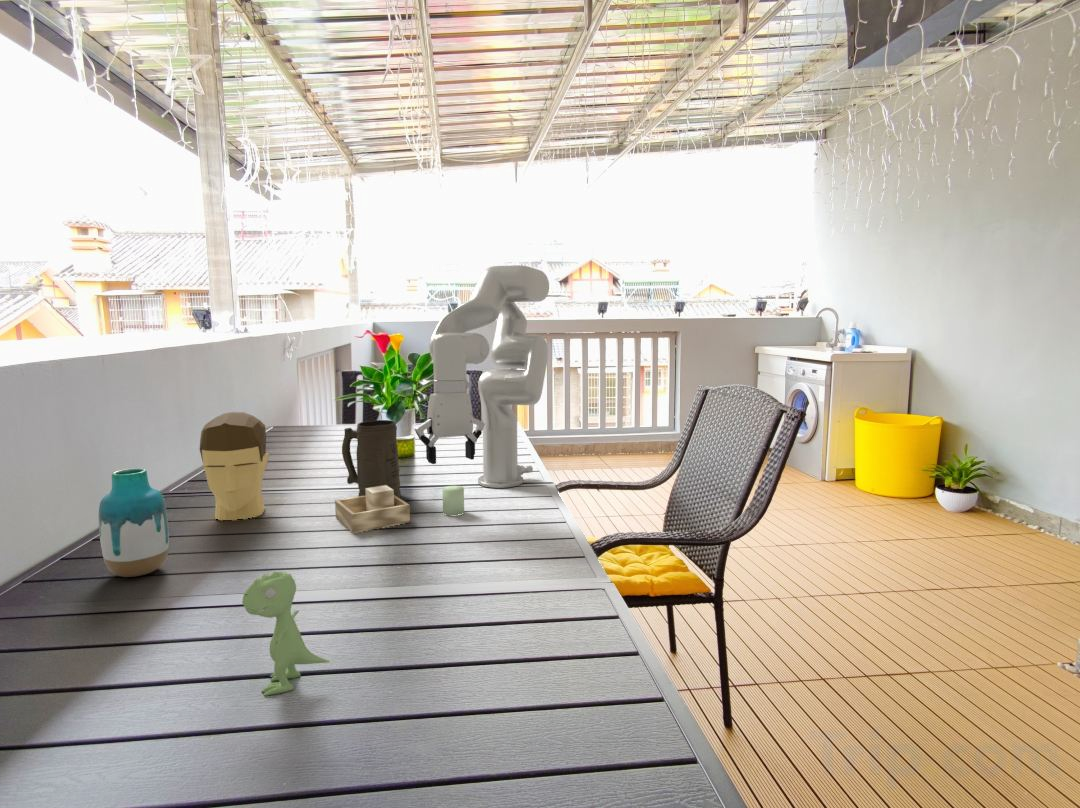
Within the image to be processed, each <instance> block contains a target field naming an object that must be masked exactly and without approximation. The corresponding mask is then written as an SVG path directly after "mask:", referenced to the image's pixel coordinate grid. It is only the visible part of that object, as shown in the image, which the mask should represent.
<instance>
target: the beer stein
mask: <svg viewBox="0 0 1080 808" xmlns="http://www.w3.org/2000/svg"><path fill="white" fill-rule="evenodd" d="M396 423H397V422H396V421H394V420H390V419H381V420H380V419H377V420H367V421H362V422H359V423H358V424H357V426H356V430H354V429H353V428H352V427H347V428H344V437H343V441H342V447H341V454H342V455H341V456H342V458H343V462H344V465H345V466H346V469H347V471H348V472H347V473H348V476H347V478H346V483H347V484H348V485H351V484H354V483H355V484H357V487H358V489H359V490H358V495H357V497H359V496H366V491H365V488H371V487H377V486H384V485H387V486H388V487H390V488H391V489H393V490H394V495H395V496H397V497H398V498H401V495H402V492H401V489H400V486H401V480H400V465H399V450H398V448H399V447H398V443H397V433H398V432H397V431H398V427H397V424H396ZM354 439H355V440H357V441H356V442H357V446H356V468H355V466H354V461H353V458H352V455H351V454H352V453H351V442H352V440H354Z"/></svg>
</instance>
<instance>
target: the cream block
mask: <svg viewBox="0 0 1080 808" xmlns="http://www.w3.org/2000/svg"><path fill="white" fill-rule="evenodd" d="M365 491H366V511H371V510H376V509H382V508H388V507H394V490H393V489H391V488H390V487H388V486H387V485H384V486H377V487H371V488H365Z"/></svg>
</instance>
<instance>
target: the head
mask: <svg viewBox="0 0 1080 808" xmlns="http://www.w3.org/2000/svg"><path fill="white" fill-rule="evenodd" d="M199 439H200V440H199V452H200V453H199V454H200V456H201V461H202V464H203V465H202V466H203V469H204V473H205V477H206V481H207V486H208V489H210V491H211V493H212V494H213V495H214V498H215V511H214V513H215V515H214V519H215V520H216V519H218V520H217V521H223V520H232V521H238V520H237V519H243V520H249V519H248V518H250V519H253V518H256V517H260V515H261V516H262V514H263V513H264V512H265V503H264V499H263V496H262V492H263V480H264V473H265V471H266V469H267V466H268V463H269V454H270V453H269V452H266V451H267V450H266V449H267V447H266V446H267V432H266V424H264V423H263V421H262V420H260V419H259V418H257V417H256V416H254V415H252V414H249V413H247V412H243V411H232V412H226V413H224V412H223V413H222V414H220V415H217V416H215V417H214V418H213V419H211V420H210V421H208V422H207V423H206V424H204V426H203V427H202V430H201V431H200V438H199ZM252 517H253V518H252Z"/></svg>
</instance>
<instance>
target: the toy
mask: <svg viewBox="0 0 1080 808" xmlns="http://www.w3.org/2000/svg"><path fill="white" fill-rule="evenodd" d="M296 584H297V583H296V581H295V579H294V578H293V575H292V574H291V573H288V572H285V571H275V572H272V573H265V574H264V575H262V576H261V577H256V578H255V580H254V581H253V583H252V584H250V585H249V586H248V588H247V589H245V591H244V592H243V596H242V605H243V606H244V608H245V611H246V612H247V613H248V614H250V615H255V616H259V617H263V618H270V619H272V618H276V620H275V626H274V630H273V635H272V637H271V639H270V641H269V654H270V656H269V657H270V658H271V660H272V661H273V662H274V666H273V667H274V668H273V670H274V672H273V673H271V675H270V676H269V677H270V678H271V679H270V681H271V682H272V681H273V682H272V683H269V684H268V685H266V686H265V687H264V688H262V689H261V692H262V693H263V696H265V697H266V696H272V695H276V694H277V695H278V694H282V693H287V692H290V691H292V690H294V689H295V687H294V685H293V684H292V683H291V682H289V681H290V679H296V678H300V677H301V673H300V671H298V670H297V669H296V666H295V665H312V664H325V663H326V664H327V663H330V661H331V660H327V659H325V658H323V657H321V656H318V655H317V654H314V653H313V652H311V651H310V650H309V649H308V648H307V645H306V644H305V641H304V640H303V637H302V634H301V633H300V630H299V629H298V628H299V627H298V625H297V623H296V620H295V617H296V616H297V615H298V613H300V610H299V609H298V610H294V611H293V613H292V612H291V611H292V606H293V602H294V598H295V594H296V591H297V585H296ZM274 681H276V682H274Z"/></svg>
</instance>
